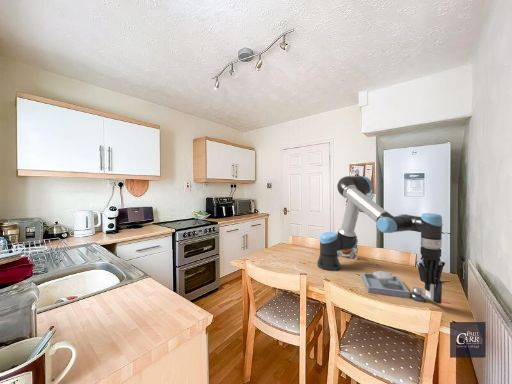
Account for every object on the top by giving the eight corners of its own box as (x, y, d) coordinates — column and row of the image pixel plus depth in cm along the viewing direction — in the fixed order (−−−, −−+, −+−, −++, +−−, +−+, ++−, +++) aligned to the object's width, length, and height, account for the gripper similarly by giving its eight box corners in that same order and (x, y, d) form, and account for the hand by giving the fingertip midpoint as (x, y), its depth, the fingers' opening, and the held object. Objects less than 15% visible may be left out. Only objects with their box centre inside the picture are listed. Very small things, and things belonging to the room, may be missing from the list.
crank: (411, 293, 109) (411, 273, 108) (414, 291, 111) (415, 271, 110) (442, 305, 98) (442, 283, 97) (445, 303, 100) (446, 281, 100)
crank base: (412, 300, 106) (413, 297, 106) (408, 294, 112) (408, 291, 112) (427, 302, 104) (427, 298, 104) (421, 296, 110) (422, 292, 110)
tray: (368, 292, 114) (368, 287, 114) (362, 277, 132) (362, 272, 132) (409, 298, 109) (409, 292, 109) (397, 281, 127) (397, 276, 127)
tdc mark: (442, 302, 104) (442, 301, 104) (440, 301, 106) (440, 300, 106) (449, 303, 104) (449, 302, 104) (448, 302, 105) (448, 301, 105)
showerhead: (398, 276, 116) (380, 277, 115) (397, 289, 117) (380, 290, 116) (386, 269, 126) (370, 269, 125) (385, 281, 126) (369, 281, 125)
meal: (336, 256, 169) (336, 240, 168) (337, 255, 172) (337, 239, 172) (356, 261, 160) (356, 243, 159) (357, 259, 163) (358, 242, 163)
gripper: (424, 250, 95) (423, 302, 96) (451, 249, 96) (450, 300, 97) (411, 245, 102) (410, 293, 103) (436, 244, 103) (434, 292, 104)
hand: (429, 296), depth 100 cm, fingers closed
